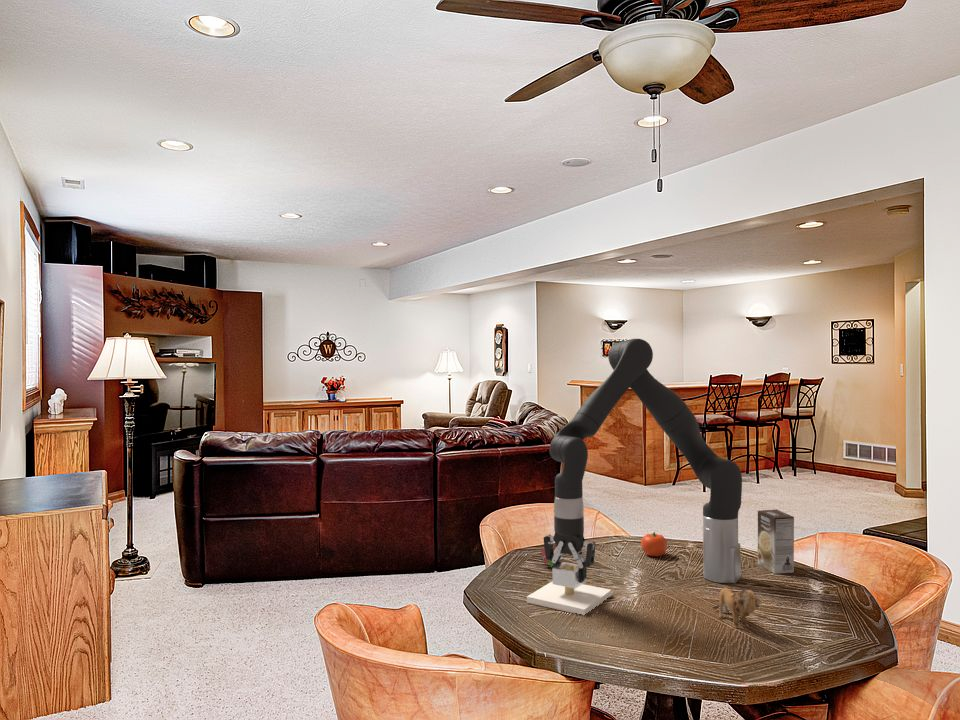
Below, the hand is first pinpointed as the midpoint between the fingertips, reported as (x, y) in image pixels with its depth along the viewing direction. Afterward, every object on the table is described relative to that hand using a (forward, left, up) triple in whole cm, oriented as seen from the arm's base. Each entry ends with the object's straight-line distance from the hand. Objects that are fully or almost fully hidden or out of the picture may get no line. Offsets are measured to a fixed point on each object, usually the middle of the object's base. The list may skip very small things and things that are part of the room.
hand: (569, 579), depth 174 cm
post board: (0, 0, -5) cm, 5 cm away
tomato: (-5, -48, -5) cm, 49 cm away
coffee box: (-39, -54, -5) cm, 67 cm away
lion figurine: (-39, -8, -5) cm, 40 cm away
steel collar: (0, 0, -1) cm, 1 cm away
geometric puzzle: (+17, -22, -5) cm, 28 cm away
